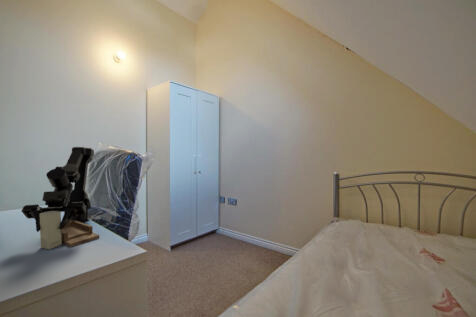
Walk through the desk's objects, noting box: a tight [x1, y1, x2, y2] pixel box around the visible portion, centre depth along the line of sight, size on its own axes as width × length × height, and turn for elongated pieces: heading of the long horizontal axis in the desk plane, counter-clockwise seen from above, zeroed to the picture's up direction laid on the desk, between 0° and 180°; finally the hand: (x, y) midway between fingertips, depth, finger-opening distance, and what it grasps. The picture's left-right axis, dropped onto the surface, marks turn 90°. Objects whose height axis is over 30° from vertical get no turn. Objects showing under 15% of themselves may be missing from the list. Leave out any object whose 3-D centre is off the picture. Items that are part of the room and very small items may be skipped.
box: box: [39, 211, 63, 250], centre depth 79 cm, size 5×4×13 cm
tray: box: [61, 220, 100, 248], centre depth 88 cm, size 10×21×4 cm, turn 61°
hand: (48, 230), depth 78 cm, fingers closed on box, 6 cm apart
